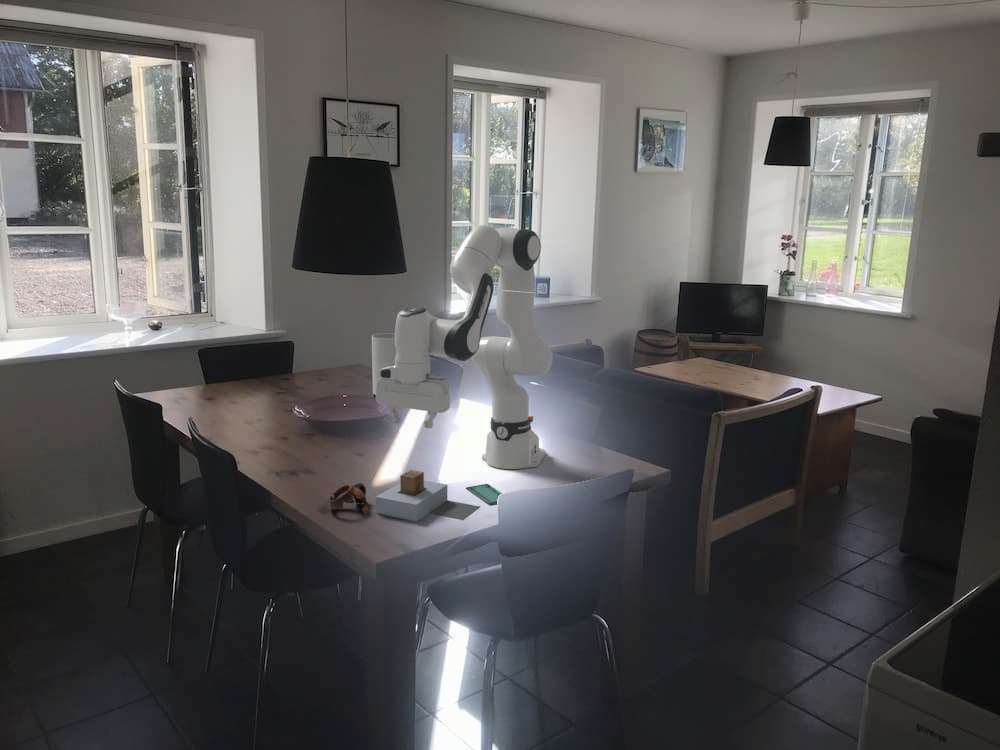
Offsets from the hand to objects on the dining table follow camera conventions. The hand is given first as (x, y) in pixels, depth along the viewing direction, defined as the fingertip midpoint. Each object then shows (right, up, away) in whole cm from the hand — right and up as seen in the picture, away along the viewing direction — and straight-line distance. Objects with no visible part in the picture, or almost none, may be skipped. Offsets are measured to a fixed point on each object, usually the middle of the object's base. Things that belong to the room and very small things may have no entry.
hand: (412, 425), depth 204 cm
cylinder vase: (-24, +4, +124) cm, 127 cm away
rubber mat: (+11, -23, +3) cm, 25 cm away
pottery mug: (-16, -23, +3) cm, 28 cm away
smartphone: (+19, -21, +14) cm, 32 cm away
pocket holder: (0, -22, +5) cm, 23 cm away
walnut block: (0, -22, +5) cm, 22 cm away
